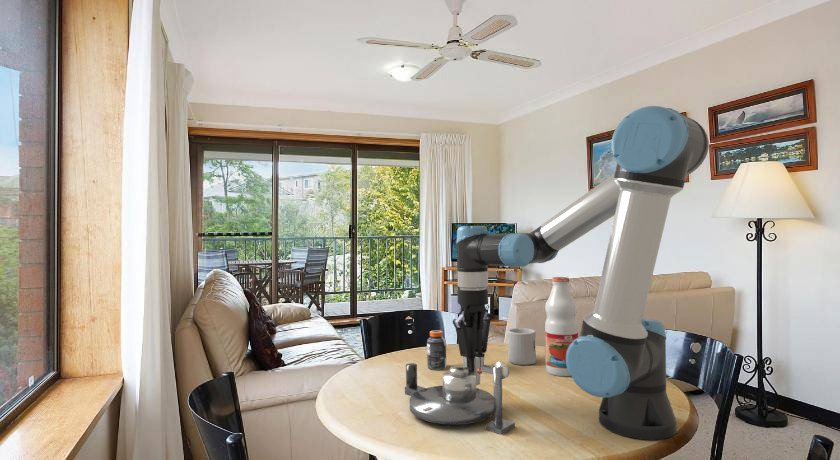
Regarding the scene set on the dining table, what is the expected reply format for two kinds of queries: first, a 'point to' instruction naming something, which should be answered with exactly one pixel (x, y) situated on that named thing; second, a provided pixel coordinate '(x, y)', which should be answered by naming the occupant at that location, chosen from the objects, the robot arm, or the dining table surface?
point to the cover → (459, 384)
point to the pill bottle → (436, 350)
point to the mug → (521, 346)
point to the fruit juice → (559, 326)
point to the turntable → (445, 403)
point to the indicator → (498, 397)
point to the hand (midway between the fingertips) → (474, 383)
